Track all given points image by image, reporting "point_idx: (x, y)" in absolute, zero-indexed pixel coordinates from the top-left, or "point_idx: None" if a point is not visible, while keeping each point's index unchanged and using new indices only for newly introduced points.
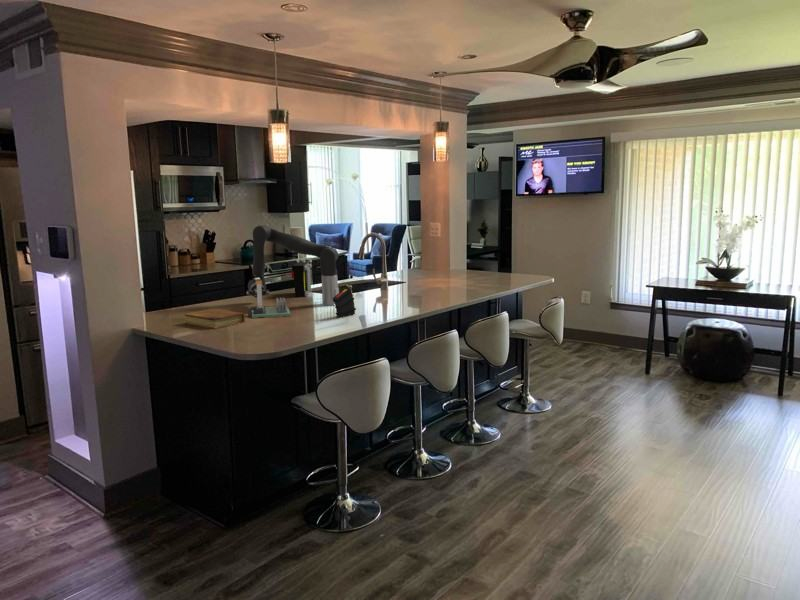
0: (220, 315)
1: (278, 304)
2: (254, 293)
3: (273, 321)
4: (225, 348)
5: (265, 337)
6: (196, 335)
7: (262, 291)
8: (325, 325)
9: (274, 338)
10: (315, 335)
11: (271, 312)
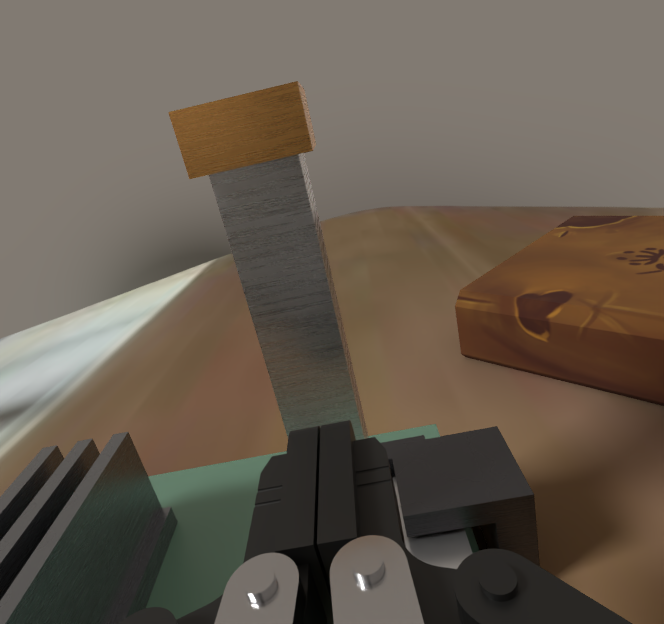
0: (590, 242)
1: (132, 451)
2: (444, 590)
3: None
4: (432, 209)
5: (335, 253)
6: None
7: (166, 612)
8: (83, 348)
9: None
10: (190, 280)
11: (234, 540)
